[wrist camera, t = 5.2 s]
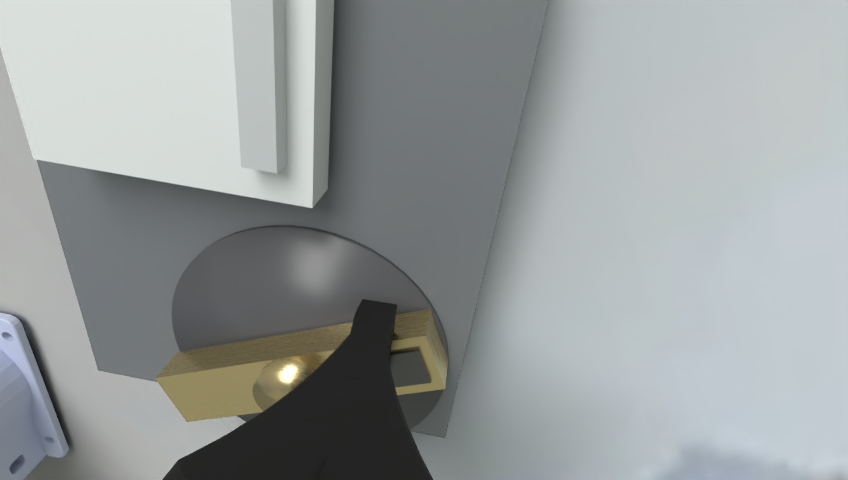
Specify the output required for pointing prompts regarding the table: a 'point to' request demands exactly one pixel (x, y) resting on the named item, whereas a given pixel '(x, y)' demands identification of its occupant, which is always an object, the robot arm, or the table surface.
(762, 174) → the table surface
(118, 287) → the grey flat block
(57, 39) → the hatch cover
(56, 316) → the table surface
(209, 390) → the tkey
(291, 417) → the robot arm
